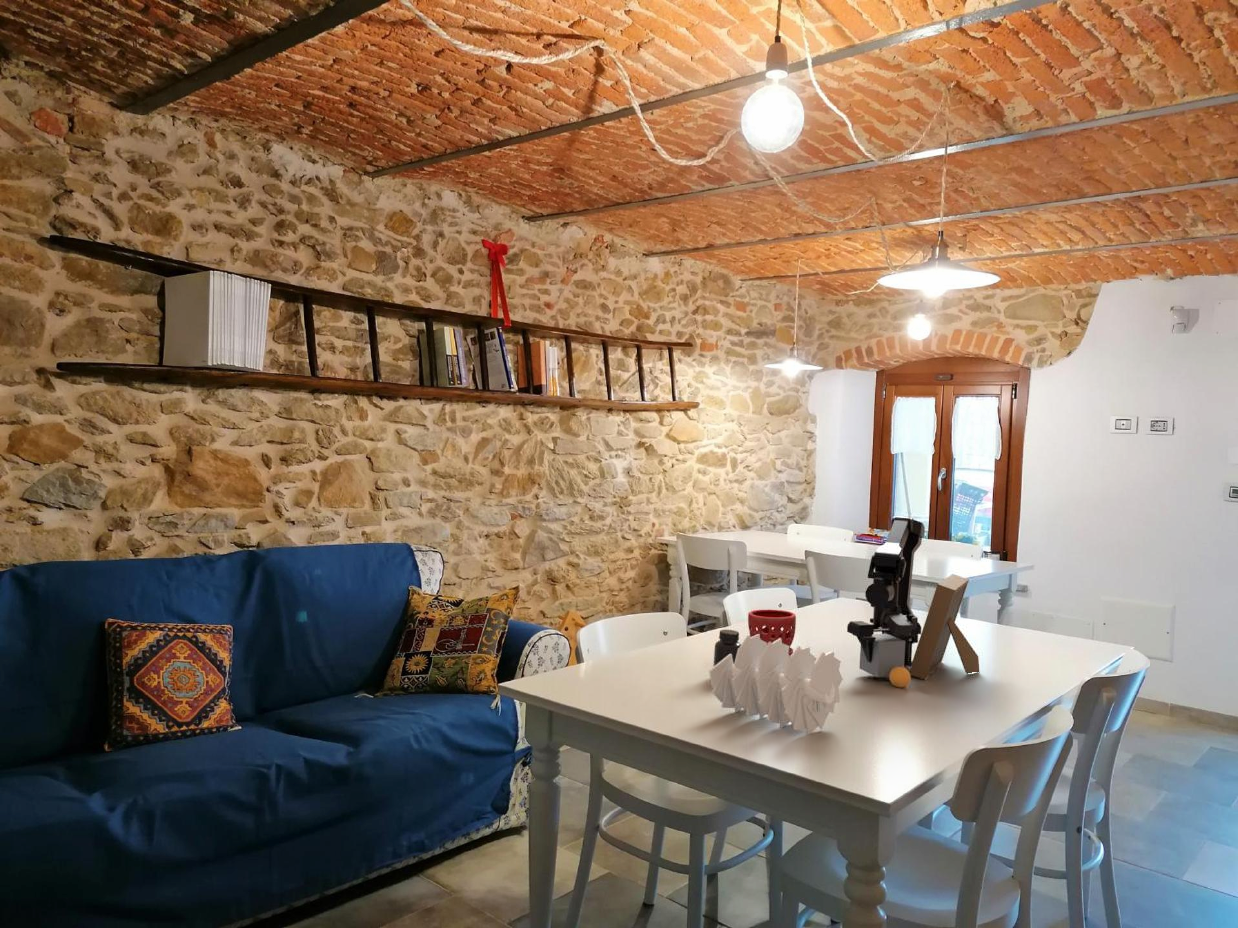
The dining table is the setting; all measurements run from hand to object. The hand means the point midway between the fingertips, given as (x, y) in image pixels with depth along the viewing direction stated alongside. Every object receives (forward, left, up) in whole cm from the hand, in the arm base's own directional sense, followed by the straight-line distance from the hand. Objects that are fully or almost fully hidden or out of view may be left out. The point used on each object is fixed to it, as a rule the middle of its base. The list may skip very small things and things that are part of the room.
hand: (882, 661), depth 217 cm
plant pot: (+17, -27, -5) cm, 32 cm away
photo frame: (-21, -1, -5) cm, 22 cm away
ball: (0, +7, -2) cm, 7 cm away
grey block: (0, 0, -3) cm, 3 cm away
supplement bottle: (+40, -8, -5) cm, 41 cm away
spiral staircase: (+44, +23, -5) cm, 50 cm away
